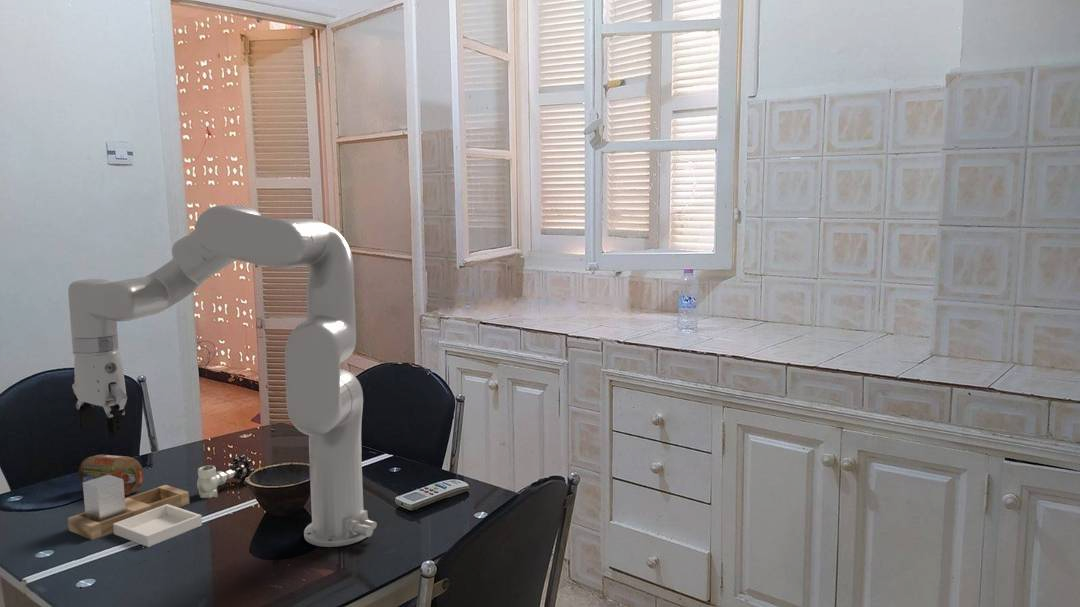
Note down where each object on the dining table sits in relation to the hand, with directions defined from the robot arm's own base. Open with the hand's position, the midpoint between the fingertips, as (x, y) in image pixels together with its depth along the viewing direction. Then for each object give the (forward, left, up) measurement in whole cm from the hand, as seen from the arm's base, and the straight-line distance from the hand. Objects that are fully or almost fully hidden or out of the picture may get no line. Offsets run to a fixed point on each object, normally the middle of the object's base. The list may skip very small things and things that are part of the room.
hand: (101, 432), depth 145 cm
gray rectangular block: (0, +1, -18) cm, 18 cm away
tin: (+17, -10, -19) cm, 27 cm away
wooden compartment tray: (0, -4, -19) cm, 19 cm away
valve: (-3, -23, -19) cm, 30 cm away
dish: (-11, -3, -19) cm, 22 cm away
